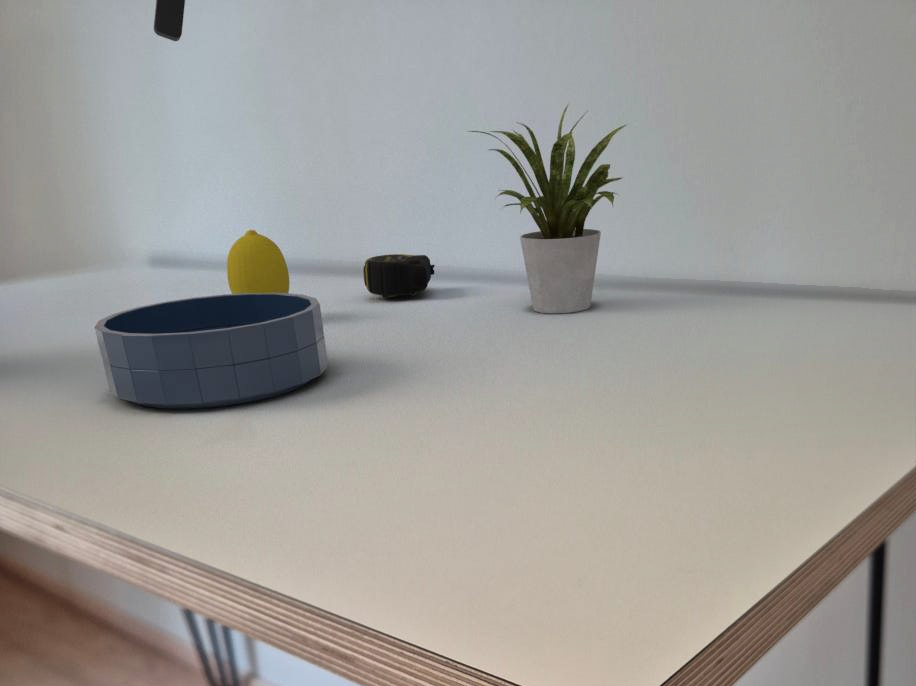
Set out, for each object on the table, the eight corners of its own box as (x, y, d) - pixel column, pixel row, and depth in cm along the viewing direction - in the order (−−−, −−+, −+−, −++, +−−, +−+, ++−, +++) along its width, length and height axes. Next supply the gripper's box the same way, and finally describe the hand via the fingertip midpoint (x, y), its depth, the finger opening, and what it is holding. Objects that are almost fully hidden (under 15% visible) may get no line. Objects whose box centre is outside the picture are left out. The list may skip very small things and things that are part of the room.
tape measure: (429, 300, 95) (425, 260, 93) (360, 303, 96) (356, 263, 94) (436, 288, 101) (433, 250, 99) (371, 292, 102) (367, 254, 100)
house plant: (451, 326, 83) (435, 110, 75) (488, 297, 95) (477, 107, 87) (617, 323, 80) (619, 97, 72) (634, 293, 91) (637, 96, 83)
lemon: (250, 316, 93) (235, 227, 89) (304, 315, 92) (290, 225, 88) (225, 328, 89) (208, 235, 85) (282, 327, 87) (267, 232, 84)
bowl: (144, 427, 61) (125, 346, 58) (92, 383, 72) (75, 314, 70) (362, 383, 67) (353, 308, 65) (283, 349, 79) (273, 285, 76)
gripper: (135, -164, 81) (116, 35, 82) (162, -287, 69) (139, -50, 70) (224, -124, 85) (205, 66, 86) (265, -234, 72) (242, -10, 73)
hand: (175, 13), depth 78 cm, fingers open, 8 cm apart
